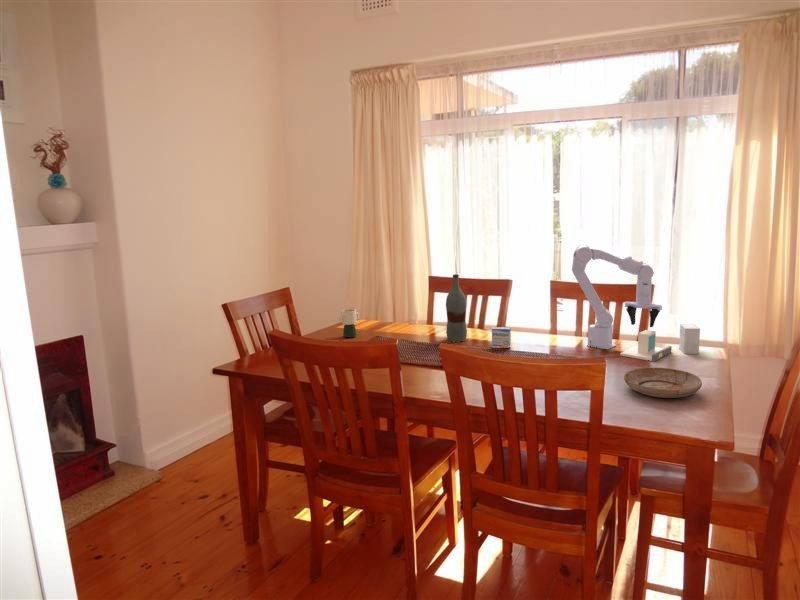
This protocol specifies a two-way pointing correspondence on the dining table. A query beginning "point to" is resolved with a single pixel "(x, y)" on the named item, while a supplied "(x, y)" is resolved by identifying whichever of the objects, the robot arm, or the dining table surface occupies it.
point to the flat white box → (651, 356)
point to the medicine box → (501, 336)
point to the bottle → (456, 313)
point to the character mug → (349, 321)
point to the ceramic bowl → (663, 382)
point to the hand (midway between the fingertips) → (642, 325)
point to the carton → (646, 341)
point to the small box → (689, 338)
